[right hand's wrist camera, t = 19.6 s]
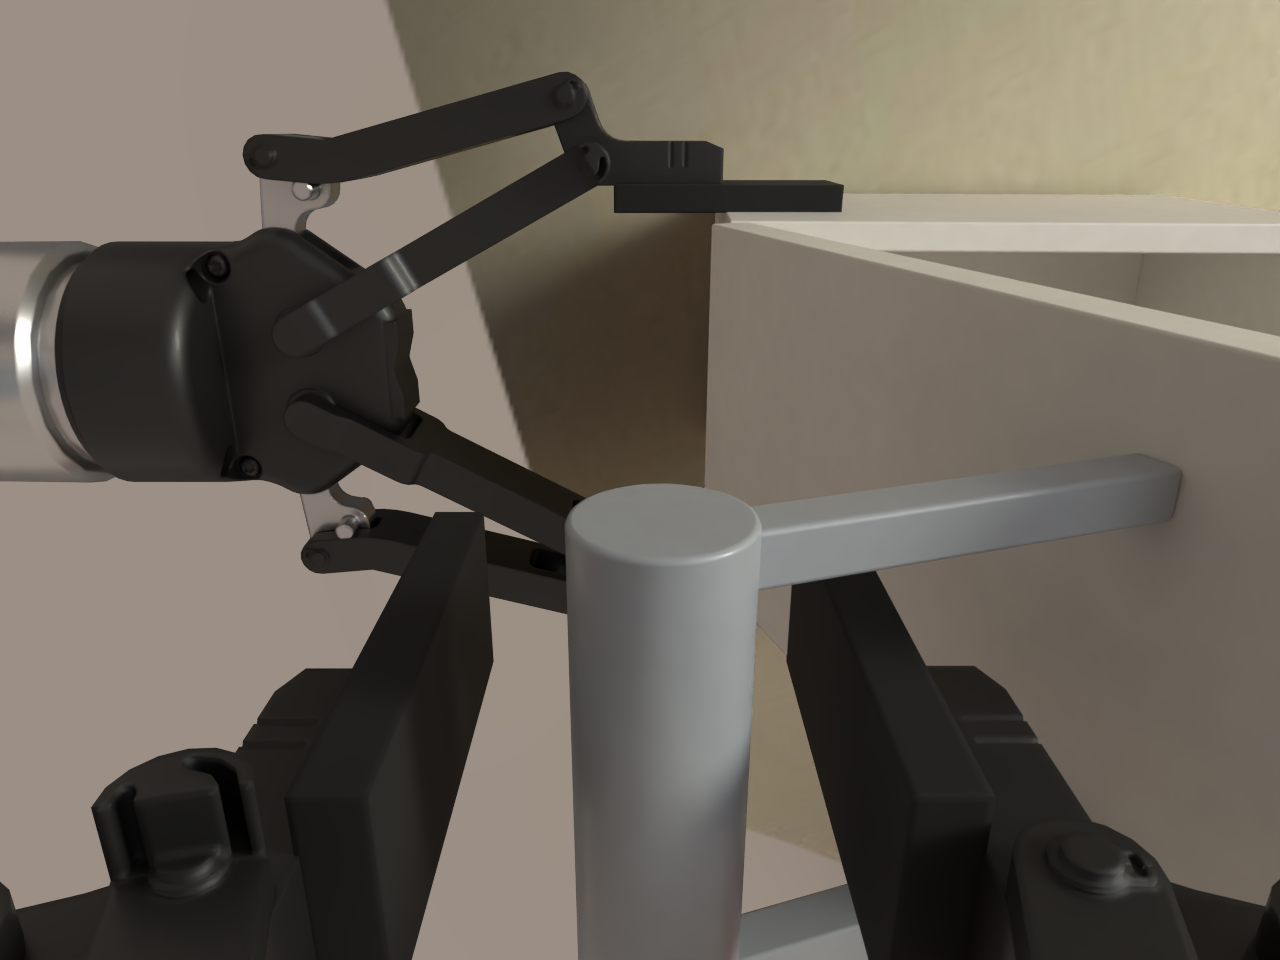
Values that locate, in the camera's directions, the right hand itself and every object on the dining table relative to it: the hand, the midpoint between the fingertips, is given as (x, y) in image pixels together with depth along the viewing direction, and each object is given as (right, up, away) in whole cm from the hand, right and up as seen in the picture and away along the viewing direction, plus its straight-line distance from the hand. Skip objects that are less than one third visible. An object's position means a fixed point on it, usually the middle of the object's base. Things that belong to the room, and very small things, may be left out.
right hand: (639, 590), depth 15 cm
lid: (+5, +1, +3) cm, 6 cm away
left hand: (+6, +6, +14) cm, 16 cm away
